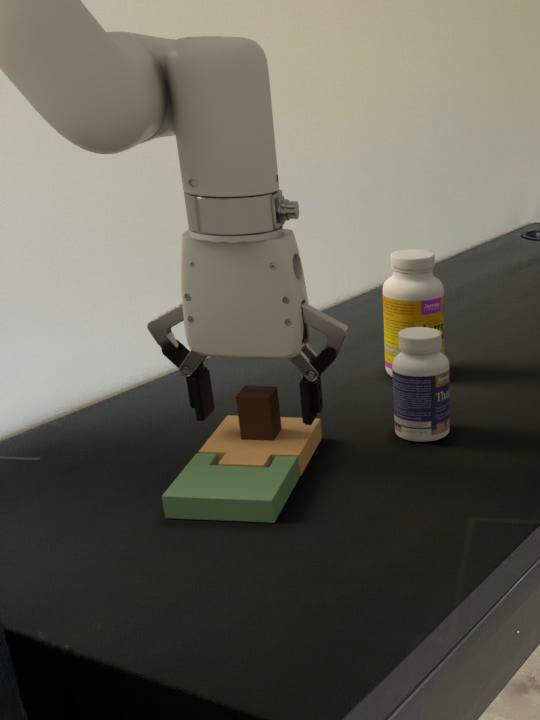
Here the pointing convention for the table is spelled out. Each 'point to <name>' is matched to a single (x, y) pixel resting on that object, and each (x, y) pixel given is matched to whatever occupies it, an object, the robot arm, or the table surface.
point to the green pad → (231, 490)
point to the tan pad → (264, 449)
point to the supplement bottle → (411, 299)
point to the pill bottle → (421, 386)
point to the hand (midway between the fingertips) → (258, 417)
